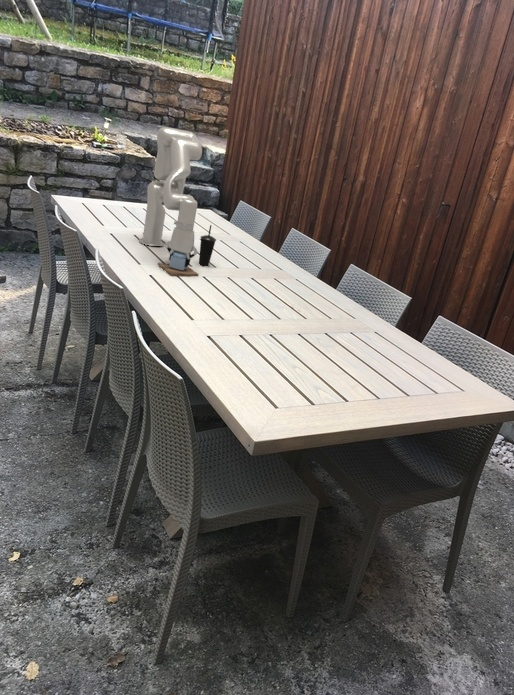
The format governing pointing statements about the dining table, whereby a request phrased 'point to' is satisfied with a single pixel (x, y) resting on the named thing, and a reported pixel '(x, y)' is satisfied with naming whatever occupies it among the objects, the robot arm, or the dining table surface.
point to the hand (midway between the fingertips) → (178, 264)
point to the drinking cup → (206, 249)
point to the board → (175, 272)
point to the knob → (178, 260)
